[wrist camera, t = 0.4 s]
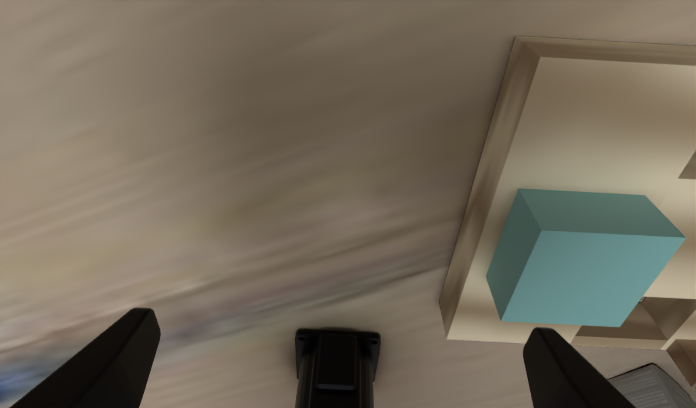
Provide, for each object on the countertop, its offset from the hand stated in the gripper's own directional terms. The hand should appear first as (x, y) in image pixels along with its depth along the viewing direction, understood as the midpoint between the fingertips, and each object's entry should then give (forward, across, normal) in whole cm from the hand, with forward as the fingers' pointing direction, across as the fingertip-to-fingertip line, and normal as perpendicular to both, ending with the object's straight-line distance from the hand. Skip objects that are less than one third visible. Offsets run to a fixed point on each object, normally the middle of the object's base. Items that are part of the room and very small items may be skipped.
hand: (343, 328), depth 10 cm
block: (+10, -11, +5) cm, 16 cm away
